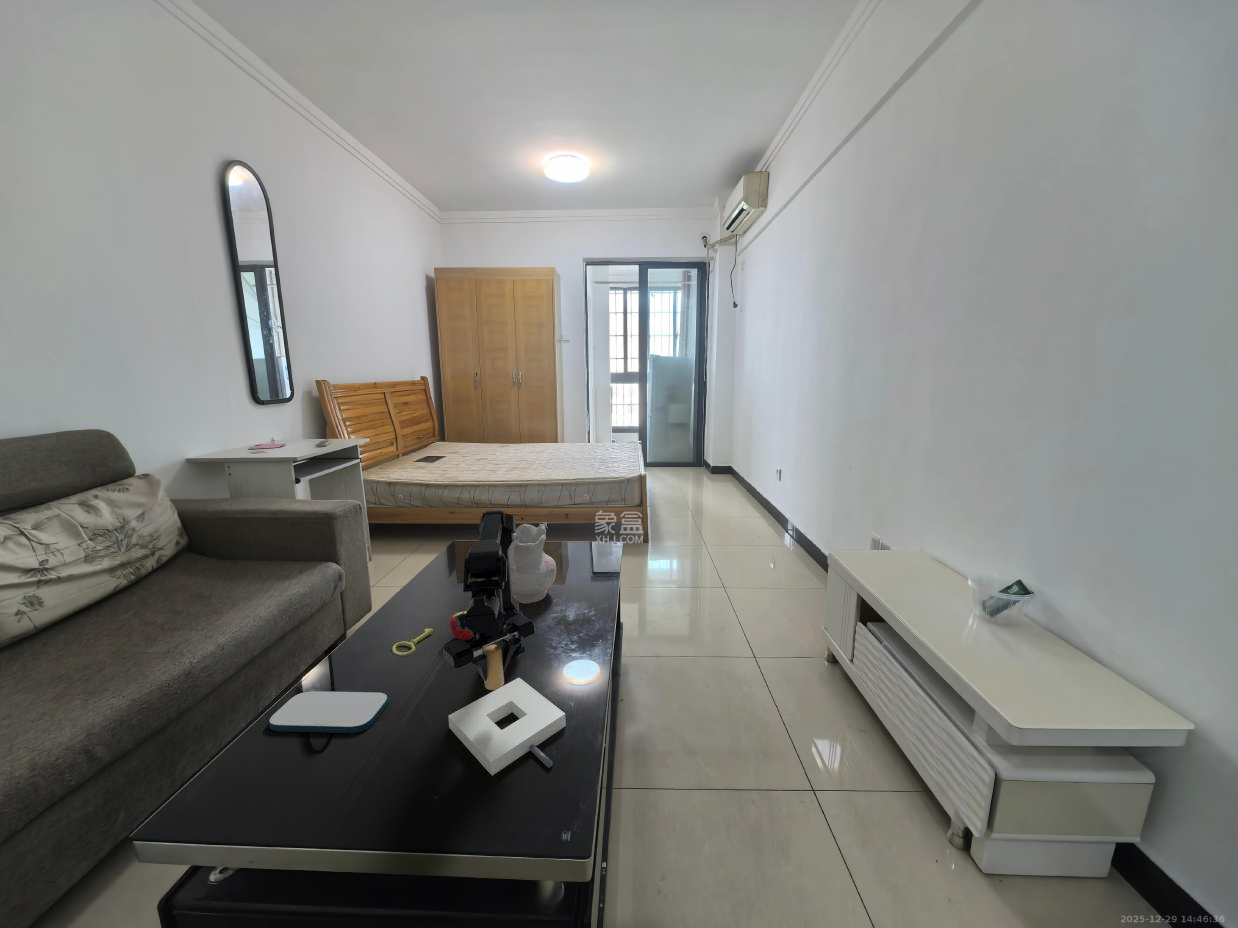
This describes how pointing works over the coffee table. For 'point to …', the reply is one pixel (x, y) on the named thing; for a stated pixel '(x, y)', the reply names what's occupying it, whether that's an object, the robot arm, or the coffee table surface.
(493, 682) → the tan peg
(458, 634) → the apple
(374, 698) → the external hard drive
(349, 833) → the coffee table surface
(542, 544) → the ceramic pitcher
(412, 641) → the key
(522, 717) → the grey board with hole
